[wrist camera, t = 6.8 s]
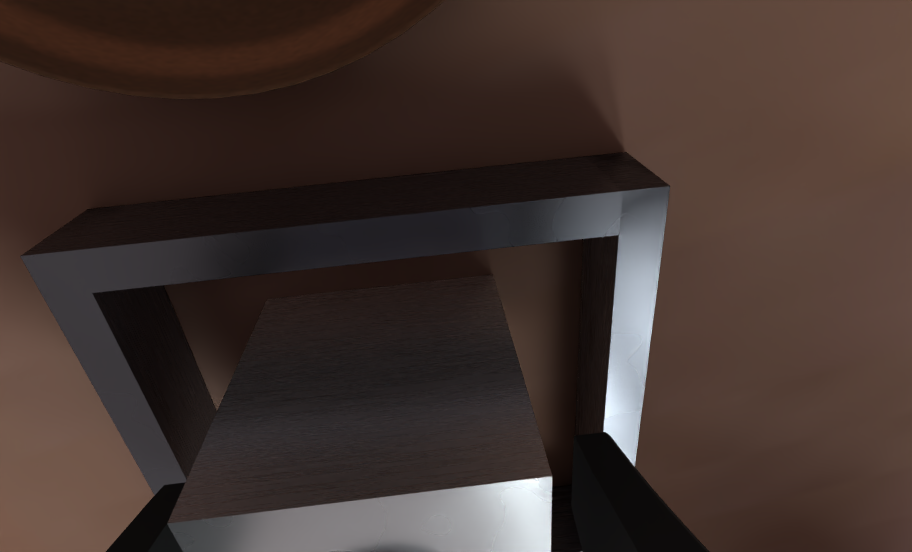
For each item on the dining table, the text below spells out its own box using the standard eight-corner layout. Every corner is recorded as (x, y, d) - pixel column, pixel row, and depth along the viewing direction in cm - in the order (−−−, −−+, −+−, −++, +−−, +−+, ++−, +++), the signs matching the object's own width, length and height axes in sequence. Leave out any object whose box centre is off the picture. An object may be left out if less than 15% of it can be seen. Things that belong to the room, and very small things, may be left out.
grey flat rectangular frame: (585, 662, 20) (602, 725, 19) (315, 698, 20) (306, 765, 18) (626, 151, 10) (669, 186, 9) (87, 209, 10) (20, 256, 8)
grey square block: (501, 433, 14) (553, 684, 9) (316, 455, 14) (263, 723, 9) (492, 272, 12) (558, 495, 7) (267, 298, 11) (156, 545, 6)
